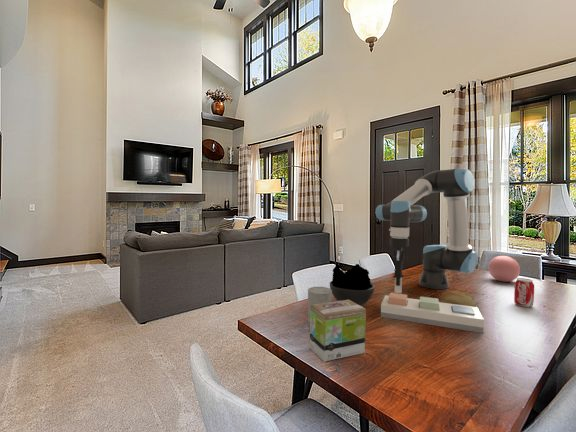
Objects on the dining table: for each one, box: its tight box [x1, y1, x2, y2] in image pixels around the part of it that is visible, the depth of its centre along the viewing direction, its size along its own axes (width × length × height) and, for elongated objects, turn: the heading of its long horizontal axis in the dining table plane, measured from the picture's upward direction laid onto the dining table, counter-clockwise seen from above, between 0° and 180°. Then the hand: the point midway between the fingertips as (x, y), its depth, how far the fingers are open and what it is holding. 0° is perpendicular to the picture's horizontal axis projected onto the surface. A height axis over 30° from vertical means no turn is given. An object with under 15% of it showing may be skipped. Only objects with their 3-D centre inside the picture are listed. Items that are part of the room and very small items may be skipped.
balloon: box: [487, 255, 521, 283], centre depth 181 cm, size 15×20×15 cm
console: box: [380, 294, 485, 334], centre depth 123 cm, size 14×36×5 cm, turn 65°
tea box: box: [309, 300, 367, 363], centre depth 96 cm, size 15×10×15 cm
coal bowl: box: [329, 263, 376, 306], centre depth 137 cm, size 20×20×19 cm
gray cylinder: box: [307, 286, 333, 323], centre depth 120 cm, size 10×10×12 cm
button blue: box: [452, 305, 474, 315], centre depth 118 cm, size 7×7×3 cm
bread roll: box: [439, 289, 477, 307], centre depth 134 cm, size 10×15×8 cm, turn 42°
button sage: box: [419, 296, 440, 310], centre depth 123 cm, size 7×7×3 cm
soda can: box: [513, 277, 535, 308], centre depth 138 cm, size 7×7×12 cm
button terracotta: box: [388, 292, 408, 306], centre depth 128 cm, size 7×7×3 cm
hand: (398, 292), depth 128 cm, fingers closed
